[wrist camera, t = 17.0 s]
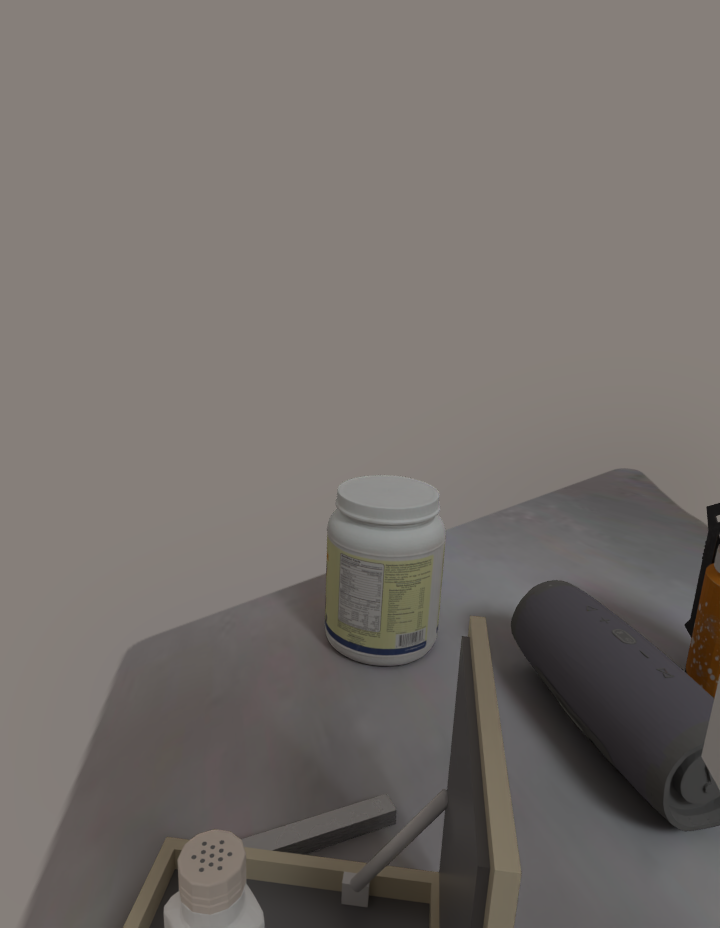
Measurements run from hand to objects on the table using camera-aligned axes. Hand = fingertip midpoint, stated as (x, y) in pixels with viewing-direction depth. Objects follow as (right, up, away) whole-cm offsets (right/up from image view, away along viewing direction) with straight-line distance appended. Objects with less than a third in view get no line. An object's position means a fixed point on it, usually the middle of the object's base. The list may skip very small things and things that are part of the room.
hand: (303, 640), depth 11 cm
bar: (-2, -24, +35) cm, 42 cm away
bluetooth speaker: (+22, -21, +46) cm, 55 cm away
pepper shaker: (-7, -25, +23) cm, 35 cm away
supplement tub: (+3, -16, +60) cm, 62 cm away
